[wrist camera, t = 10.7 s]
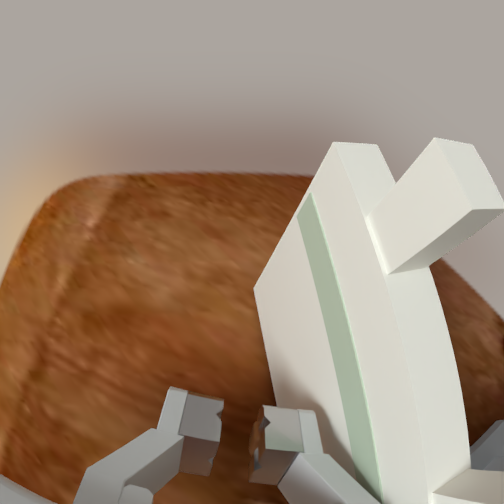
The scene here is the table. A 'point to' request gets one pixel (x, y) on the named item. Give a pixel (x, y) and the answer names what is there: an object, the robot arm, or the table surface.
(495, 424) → the grey toy wall
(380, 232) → the fence panel
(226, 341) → the table surface
